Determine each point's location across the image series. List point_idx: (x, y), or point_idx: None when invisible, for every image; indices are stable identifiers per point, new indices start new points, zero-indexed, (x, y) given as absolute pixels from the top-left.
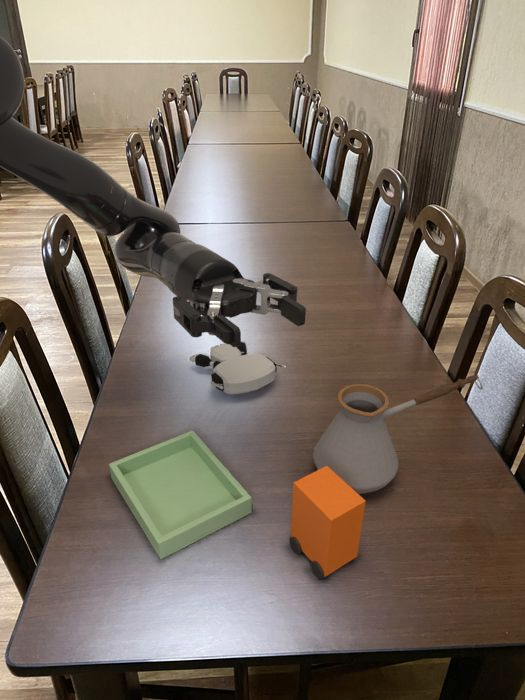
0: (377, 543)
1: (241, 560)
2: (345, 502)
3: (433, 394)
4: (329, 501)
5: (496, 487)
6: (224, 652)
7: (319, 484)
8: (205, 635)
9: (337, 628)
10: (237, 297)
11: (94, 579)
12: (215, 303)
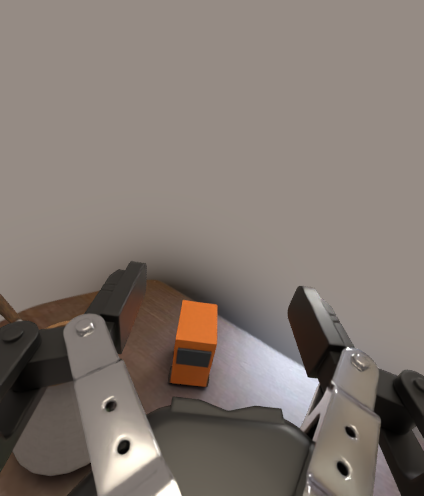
0: (151, 346)
1: (248, 405)
2: (196, 307)
3: (6, 301)
4: (205, 314)
5: (30, 318)
6: (285, 357)
7: (199, 329)
8: (293, 372)
9: (220, 327)
10: (237, 423)
11: (386, 488)
12: (352, 397)
